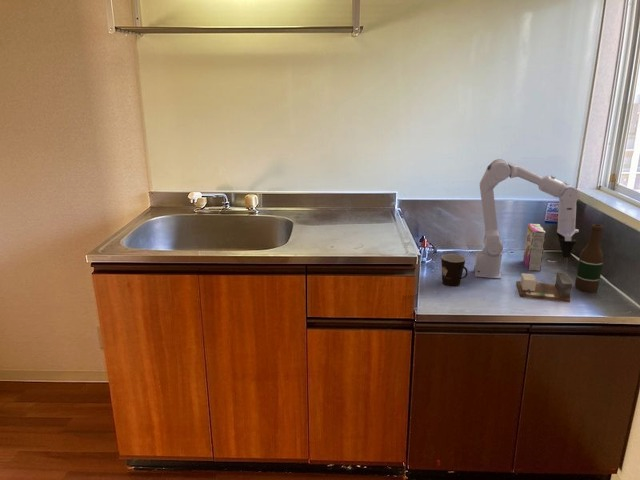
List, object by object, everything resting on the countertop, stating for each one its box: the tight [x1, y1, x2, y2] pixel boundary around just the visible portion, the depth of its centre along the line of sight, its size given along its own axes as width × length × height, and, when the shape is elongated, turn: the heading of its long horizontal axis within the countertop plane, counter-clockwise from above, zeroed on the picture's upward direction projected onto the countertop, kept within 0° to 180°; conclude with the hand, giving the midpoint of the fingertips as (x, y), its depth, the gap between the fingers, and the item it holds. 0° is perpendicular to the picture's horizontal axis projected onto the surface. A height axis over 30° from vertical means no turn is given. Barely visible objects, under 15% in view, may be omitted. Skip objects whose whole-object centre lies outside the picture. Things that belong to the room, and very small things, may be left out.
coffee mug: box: [440, 253, 468, 287], centre depth 179 cm, size 12×9×10 cm
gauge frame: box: [515, 272, 573, 303], centre depth 173 cm, size 16×12×6 cm
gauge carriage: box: [520, 272, 542, 294], centre depth 173 cm, size 6×9×4 cm
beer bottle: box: [574, 223, 604, 294], centre depth 174 cm, size 8×8×24 cm
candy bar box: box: [522, 223, 547, 272], centre depth 196 cm, size 11×5×16 cm, turn 168°
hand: (565, 253), depth 181 cm, fingers open, 7 cm apart
